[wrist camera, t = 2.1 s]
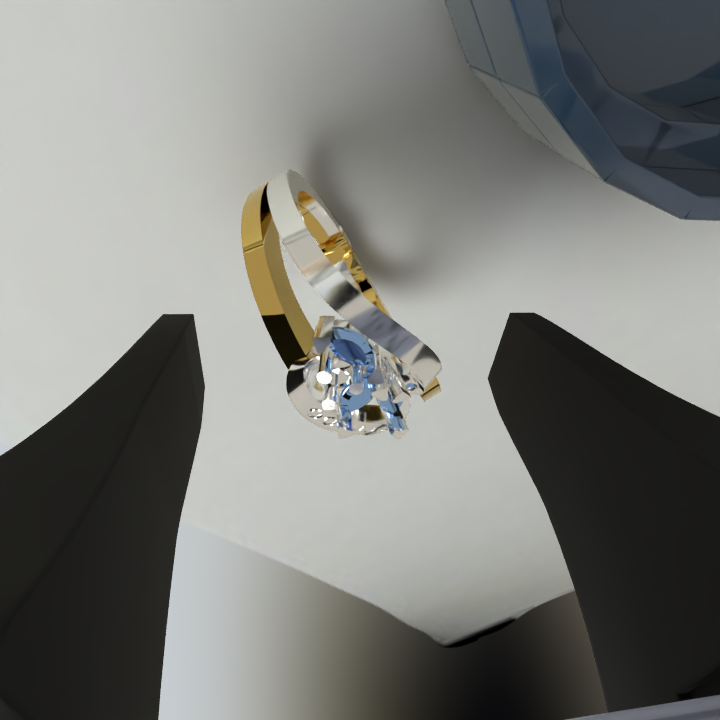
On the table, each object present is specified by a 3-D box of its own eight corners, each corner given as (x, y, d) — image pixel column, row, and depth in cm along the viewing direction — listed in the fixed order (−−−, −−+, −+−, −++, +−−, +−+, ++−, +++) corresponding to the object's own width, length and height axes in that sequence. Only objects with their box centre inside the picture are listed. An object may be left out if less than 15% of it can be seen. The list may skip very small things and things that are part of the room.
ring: (228, 167, 14) (189, 322, 8) (323, 109, 13) (365, 226, 7) (341, 331, 18) (374, 515, 12) (416, 293, 17) (493, 466, 11)
